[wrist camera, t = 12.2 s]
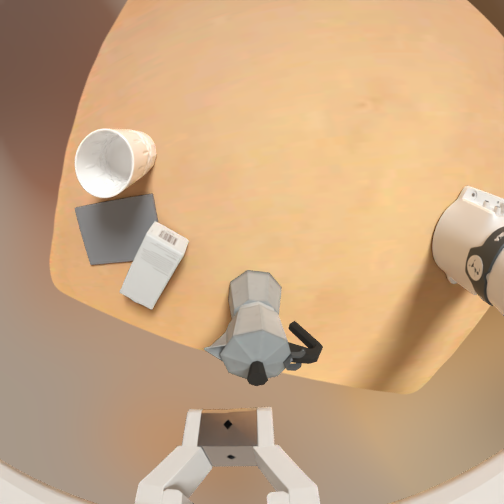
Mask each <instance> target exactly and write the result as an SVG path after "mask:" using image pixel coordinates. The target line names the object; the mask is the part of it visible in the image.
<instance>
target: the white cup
mask: <svg viewBox="0 0 504 504" xmlns="http://www.w3.org/2000/svg"><path fill="white" fill-rule="evenodd" d="M156 155H157V154H156V147H155V143H154V142H153V140H152V139H151V137H150V136H149V135H147V134H145V133H143V132H141V131H134V130H127V129H99V130H96V131H93V132H92V133H90V134H89V135H87V136H86V137H85V138H84V139H83V141H82V142H81V144H80V145H79V147H78V150H77V153H76V157H75V171H76V175H77V178H78V180H79V182H80V184H81V186H82V187H83V188H84V189H85V190H86V191H87V192H88V193H90V194H91V195H93V196H95V197H99V198H110V197H113V196H116V195H118V194H119V193H121V192H122V191H123V190H125V189H126V188H128V187H129V186H131V185H132V184H133V183H135V182H136V181H137V180H139V179H140V178H141V177H142V176H144V175H145V174H146V173H148V171H149V170H150V169H151V168H152V167H153V165H154V162H155V159H156Z"/></svg>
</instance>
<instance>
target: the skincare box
mask: <svg viewBox="0 0 504 504" xmlns="http://www.w3.org/2000/svg"><path fill="white" fill-rule="evenodd" d="M188 243H189V241H188V240H187V239H186V238H185V237H183V236H181V235H179V234H178V233H176V232H174V231H172V230H171V229H169V228H167V227H165V226H163V225H162V224H160V223H158V222H156V221H155V222H154V223H153V224H152V226H151V227H150V229H149V230H148V232H147V233H146V235H145V237H144V239H143V242H142V244H141V246H140V248H139V250H138V252H137V254H136V256H135V258H134V260H133V262H132V265H131V267H130V269H129V271H128V273H127V276H126V278H125V280H124V283H123V285H122V288H121V290H120V293H121V294H123V295H125V296H127V297H128V298H130V299H131V300H133V301H134V302H136V303H138V304H141V305H143V306H145V307H147V308H149V309H151V310H152V309H153V308H154V306H155V304H156V302H157V300H158V298H159V297H160V295H161V293H162V292H163V290H164V288H165V286H166V285H167V283H168V281H169V280H170V278H171V276H172V274H173V273H174V271H175V269H176V268H177V266H178V264H179V263H180V261H181V259H182V258H183V256H184V254H185V251H186V248H187V245H188Z"/></svg>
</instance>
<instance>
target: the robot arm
mask: <svg viewBox="0 0 504 504" xmlns="http://www.w3.org/2000/svg"><path fill="white" fill-rule="evenodd" d="M472 193H473V194H472ZM432 251H433V257H434V260H435V262H436V264H437V265H438V267H439V268H440V269H442V270H443V271H444V272H445V273H446V276H447V278H448V281H449V282H451V283H452V284H455V283H459V284H460V285H461V286H462V287H464V288H465V289H466V290H468V291H469V292H470V293H472V294H473V295H477V294H478V295H479V297H480V298H481V299H482V300H483V301H485V302H487V303H488V304H489V305H491V306H494V307H495V308H496V309H497V310H498V311H499V312H500V313H501V314H502V315H503V316H504V199H503V198H501V197H498V196H496V195H493V194H490V193H488V192H485V191H482V190H480V189H477V188H474V187H471V186H465V187H464V188H463V190H462V191H461V193H460V195H459V197H458V199H457V200H456V201H455V202H454V203H452V204H451V205H450V206H449V207H448V208H447V209H446V211H445V212H444V213H443V215H442V216H441V218H440V220H439V222H438V224H437V226H436V229H435V232H434V236H433V243H432ZM212 466H258V468H259V469H260V470H261V472H262V473H263V474H264V475H265V477H266V478H267V479H268V481H269V482H270V484H271V485H272V486H273V487H274V488H275V490H276V491H277V492H271V493H269V494H268V495H267V504H320V500H319V494H318V487H317V485H316V484H315V483H314V482H313V481H312V480H311V479H310V478H309V477H308V476H307V475H306V474H305V473H304V472H303V471H302V470H301V469H300V468H299V467H298V466H297V465H296V464H295V463H294V461H293V460H291V458H290V457H289V456H288V455H287V454H286V453H285V452H284V451H283V450H282V448H281V447H280V446H279V445H275V443H274V429H273V417H272V407H260V408H257V407H255V408H240V409H189V410H188V412H187V417H186V423H185V429H184V435H183V441H182V446H177V447H176V448H175V449H174V450H173V451H172V452H171V453H170V454H169V455H168V456H167V457H166V458H165V459H164V460H163V461H162V462H161V463H160V464H159V465H158V466H157V467H156V468H155V469H154V470H153V471H152V472H151V473H150V474H148V475H147V476H146V477H145V478H144V479H143V480H142V481H141V482H140V483H139V486H138V491H137V495H136V500H135V504H194V503H192V502H191V501H190V500H189V499H188V498H189V497H190V496H191V494H192V493H193V492H194V491H195V489H196V488H197V487H198V486H199V484H200V483H201V482H202V481H203V479H204V478H205V477H206V475H207V474H208V473H209V471H210V470H211V469H212ZM0 504H97V503H94V502H91V501H88V500H85V499H82V498H80V497H77V496H74V495H71V494H69V493H67V492H64V491H62V490H59V489H57V488H54V487H52V486H50V485H48V484H46V483H43V482H41V481H39V480H37V479H35V478H33V477H31V476H29V475H27V474H25V473H23V472H22V471H19V470H18V469H16V468H14V467H13V466H11V465H9V464H7V463H6V462H4V461H2V460H1V459H0ZM389 504H504V449H502V450H501V451H499V452H498V453H496V454H494V455H493V456H491V457H490V458H488V459H486V460H485V461H483V462H481V463H480V464H478V465H476V466H474V467H472V468H471V469H469V470H467V471H465V472H463V473H461V474H459V475H457V476H455V477H453V478H451V479H449V480H447V481H445V482H443V483H441V484H439V485H436V486H434V487H432V488H429V489H427V490H424V491H422V492H419V493H417V494H415V495H412V496H409V497H407V498H403V499H401V500H398V501H395V502H392V503H389Z"/></svg>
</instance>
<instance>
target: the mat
mask: <svg viewBox="0 0 504 504" xmlns="http://www.w3.org/2000/svg"><path fill="white" fill-rule="evenodd" d="M75 212H76V216H77V220H78V223H79V227H80V231H81V234H82V238H83V241H84V245H85V248H86V252H87V255H88V258H89V261H90V264H91V265H94V264H105V263H116V262H127V261H133V260H134V258H135V256H136V254H137V252H138V250H139V248H140V246H141V244H142V242H143V239H144V237H145V235H146V233H147V232H148V230H149V229H150V227H151V226H152V224H153V223H154V222H155V221H156V222H158V218H157V213H156V208H155V203H154V197H153V194H146V195H140V196H134V197H128V198H123V199H117V200H112V201H106V202H101V203H96V204H91V205H86V206H81V207H76V208H75Z"/></svg>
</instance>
